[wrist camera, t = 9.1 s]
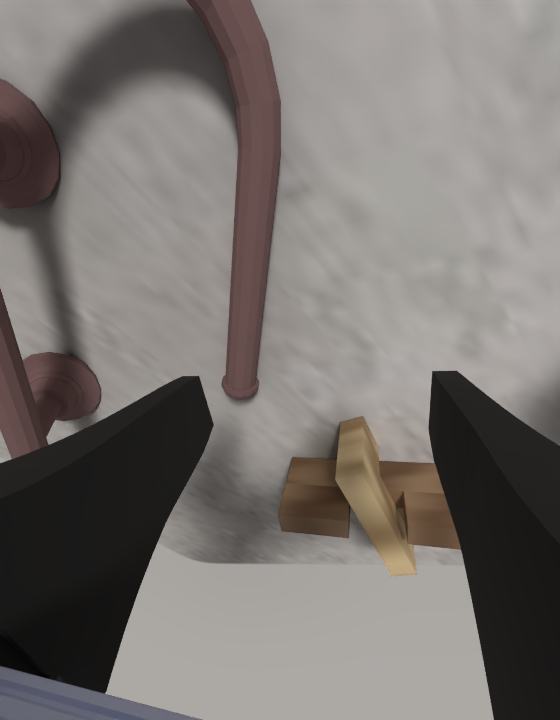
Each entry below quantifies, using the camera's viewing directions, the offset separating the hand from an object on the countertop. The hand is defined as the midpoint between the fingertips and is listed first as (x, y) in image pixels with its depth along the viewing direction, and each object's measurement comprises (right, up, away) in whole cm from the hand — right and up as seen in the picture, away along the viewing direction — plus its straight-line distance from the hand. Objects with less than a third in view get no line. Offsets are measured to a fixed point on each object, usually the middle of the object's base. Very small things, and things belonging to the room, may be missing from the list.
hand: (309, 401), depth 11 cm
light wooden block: (+6, -6, +14) cm, 16 cm away
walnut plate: (+6, -7, +14) cm, 16 cm away
